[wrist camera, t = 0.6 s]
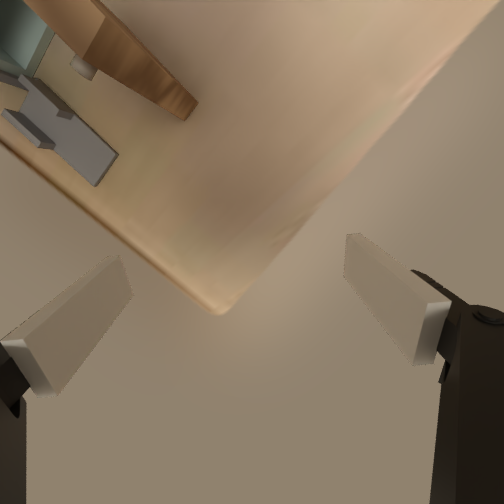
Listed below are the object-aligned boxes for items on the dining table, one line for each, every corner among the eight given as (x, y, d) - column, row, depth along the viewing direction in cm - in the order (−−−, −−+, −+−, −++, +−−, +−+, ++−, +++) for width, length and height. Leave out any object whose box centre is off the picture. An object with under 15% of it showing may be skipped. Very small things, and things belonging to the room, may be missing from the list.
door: (122, 23, 30) (-80, -177, 13) (198, 102, 32) (105, 16, 15) (105, 52, 32) (-101, -96, 14) (179, 128, 33) (73, 75, 16)
